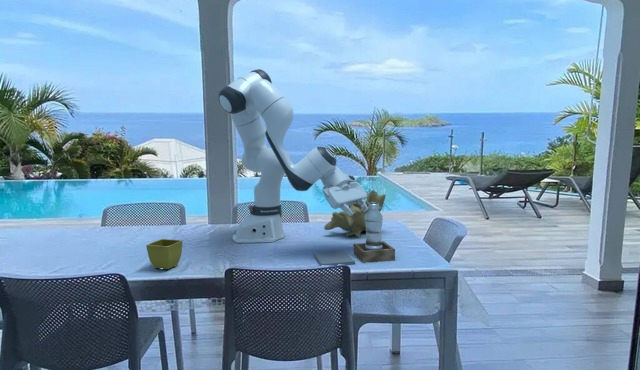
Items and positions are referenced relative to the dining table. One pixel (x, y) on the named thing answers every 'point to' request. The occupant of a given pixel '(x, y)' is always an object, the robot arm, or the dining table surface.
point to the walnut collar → (374, 253)
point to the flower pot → (164, 253)
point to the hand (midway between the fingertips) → (359, 212)
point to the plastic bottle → (373, 227)
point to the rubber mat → (333, 258)
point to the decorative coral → (354, 216)
